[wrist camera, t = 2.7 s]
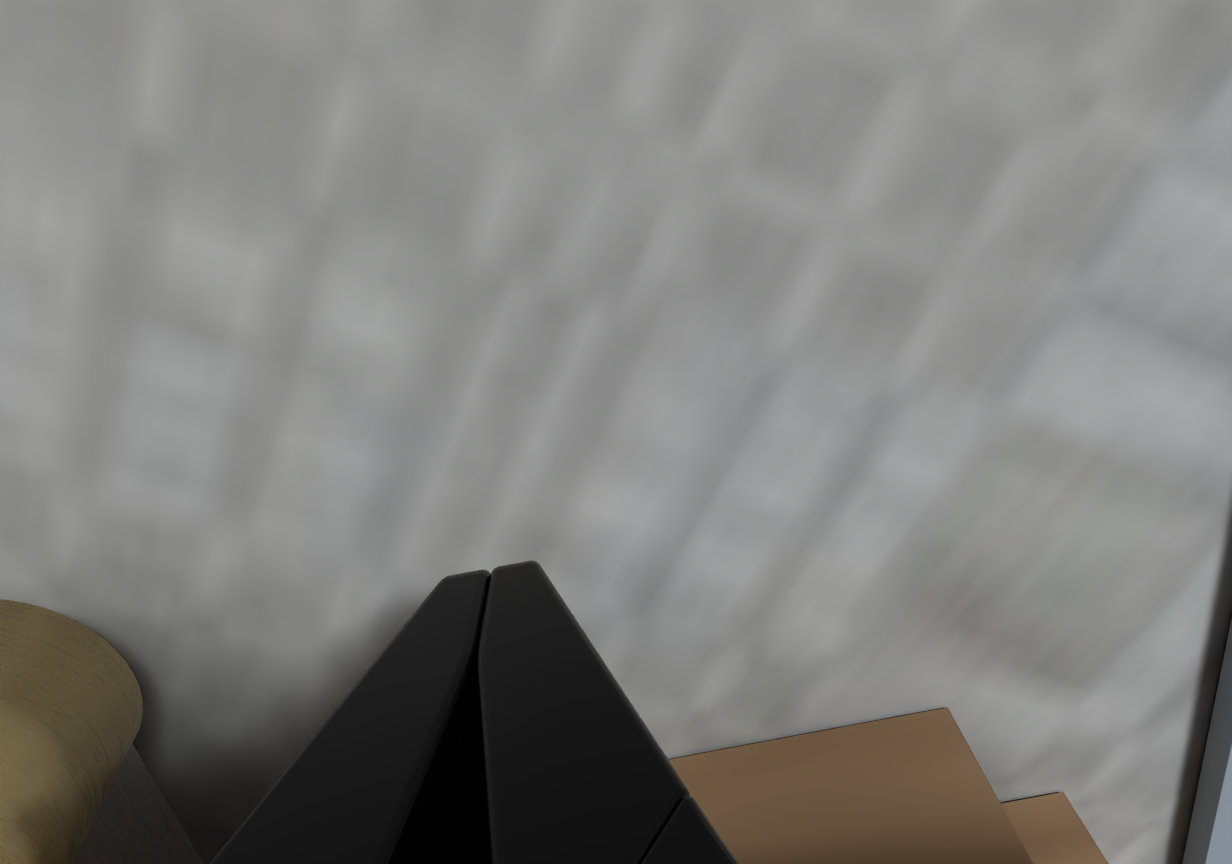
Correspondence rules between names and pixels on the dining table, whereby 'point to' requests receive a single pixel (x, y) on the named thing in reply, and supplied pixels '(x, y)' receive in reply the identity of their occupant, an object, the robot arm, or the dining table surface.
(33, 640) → the lever
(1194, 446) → the dining table surface
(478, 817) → the robot arm
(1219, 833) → the pad
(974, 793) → the wooden angled piece
